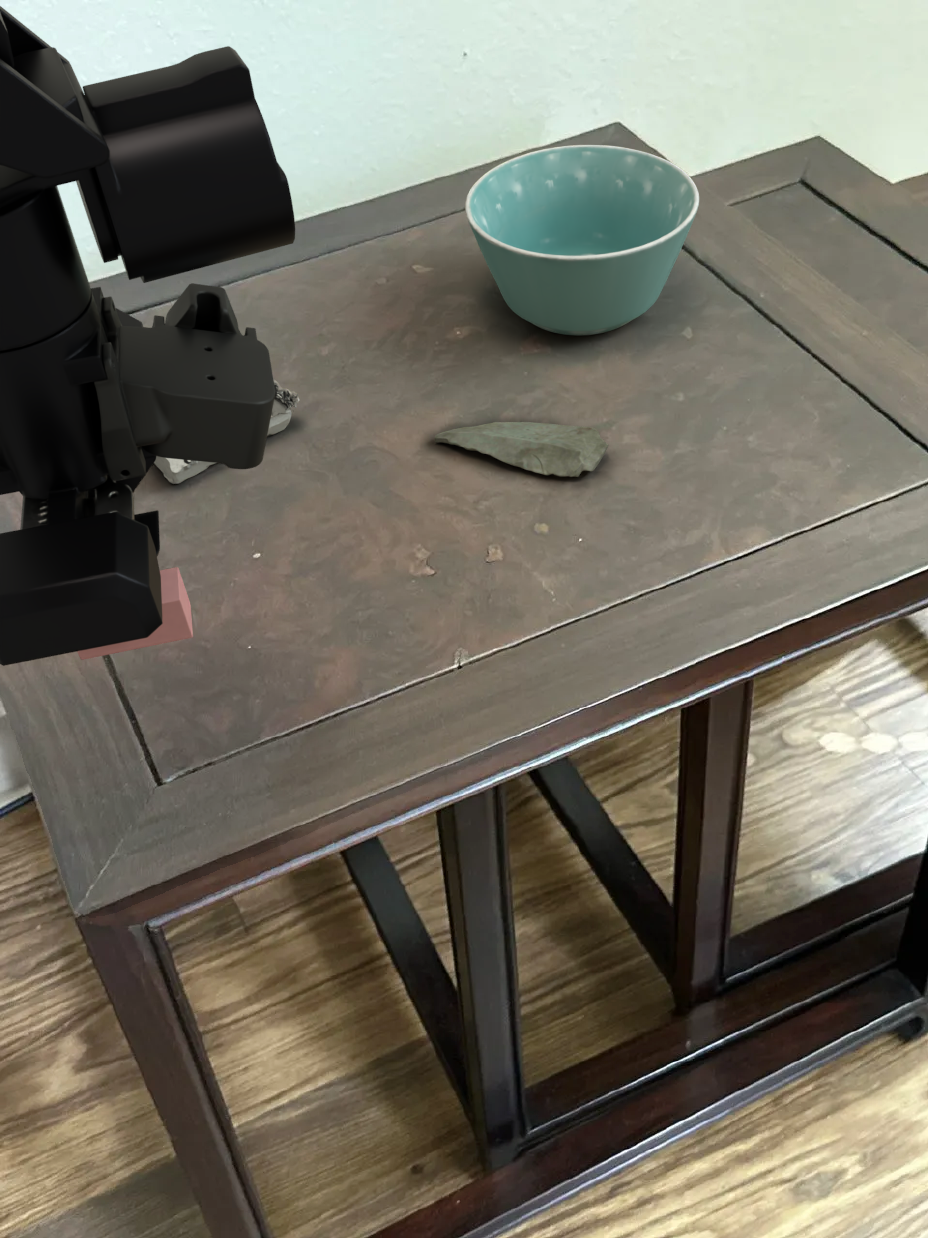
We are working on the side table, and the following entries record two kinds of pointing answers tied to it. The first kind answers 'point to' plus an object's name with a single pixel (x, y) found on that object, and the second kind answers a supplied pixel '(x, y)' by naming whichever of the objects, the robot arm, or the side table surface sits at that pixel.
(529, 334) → the side table surface
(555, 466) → the stone
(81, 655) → the eraser
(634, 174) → the bowl
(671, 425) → the side table surface
